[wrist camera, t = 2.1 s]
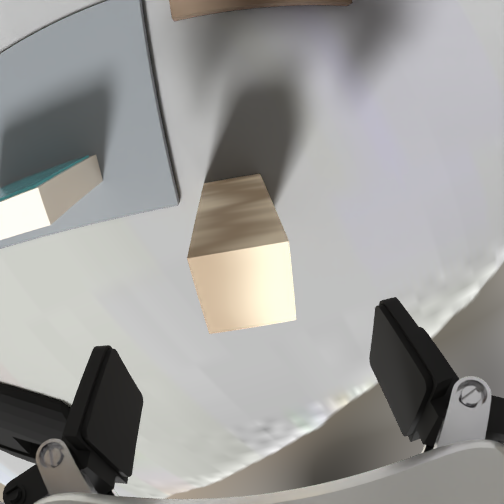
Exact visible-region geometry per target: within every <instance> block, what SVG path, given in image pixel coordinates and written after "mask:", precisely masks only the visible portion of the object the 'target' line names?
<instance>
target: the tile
mask: <svg viewBox="0 0 504 504" xmlns="http://www.w3.org/2000/svg"><path fill="white" fill-rule="evenodd" d="M102 181H103V179H102V175H101V171H100V168H99V164H98V160H97V156H96V155H92V156H89V155H87V156H84V157H81V158H78V159H75V160H72V161H69V162H66V163H63V164H60V165H57V166H55V167H52V168H49V169H46V170H44V171H41V172H39V173H36V174H33V175H31V176H28V177H26V178H23V179H21V180H19V181H16V182H14V183H11V184H9V185H7V186H4V187H2V188H0V240H2V239H6V238H9V237H12V236H15V235H18V234H22V233H25V232H28V231H32V230H35V229H39V228H42V227H46V226H49V225H51V224H52V223H54V222H55V221H56V220H57V219H58V218H59V217H60V216H61V215H62V214H64V213H65V212H66V211H67V210H68V209H69V208H71V207H72V206H73V205H74V204H75V203H76V202H78V201H79V200H80V199H81V198H82V197H84V196H85V195H86V194H87V193H88V192H90V191H91V190H92V189H93V188H95V187H96V186H97V185H98V184H100V183H101V182H102Z"/></svg>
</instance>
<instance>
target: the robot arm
mask: <svg viewBox="0 0 504 504" xmlns="http://www.w3.org/2000/svg"><path fill="white" fill-rule="evenodd" d="M370 365H371V368H372V370H373V372H374V374H375V376H376V378H377V380H378V382H379V384H380V386H381V388H382V391H383V393H384V395H385V397H386V399H387V401H388V403H389V406H390V408H391V410H392V412H393V414H394V416H395V418H396V421H397V423H398V425H399V427H400V430H401V432H402V434H403V435H404V436H408V437H409V439H410V441H411V442H412V441H414V440H417V439H421V441H422V443H423V444H425V445H424V448H423V451H422V453H421V454H418V455H416V456H413V457H410V458H408V459H405V460H402V461H399V462H396V463H393V464H390V465H387V466H384V467H381V468H378V469H374V470H371V471H368V472H365V473H361V474H358V475H355V476H351V477H347V478H343V479H340V480H336V481H332V482H327V483H323V484H318V485H313V486H308V487H303V488H298V489H293V490H287V491H281V492H274V493H267V494H259V495H250V496H241V497H229V498H211V499H153V498H136V497H122V496H119V495H118V494H117V492H116V491H115V489H114V485H115V483H125V484H127V481H128V477H130V476H131V475H132V469H133V462H134V455H135V448H136V442H137V436H138V429H139V423H140V418H141V412H142V406H143V397H142V394H141V392H140V391H139V389H138V387H137V386H136V384H135V382H134V381H133V379H132V377H131V376H130V374H129V372H128V370H127V369H126V367H125V365H124V363H123V362H122V360H121V358H120V356H119V354H118V353H117V351H116V350H115V349H112V347H111V346H108V345H107V346H96V347H94V349H93V351H92V353H91V356H90V358H89V361H88V363H87V366H86V368H85V371H84V374H83V376H82V379H81V382H80V384H79V387H78V390H77V392H76V395H75V398H74V401H73V404H72V407H71V409H70V412H69V415H68V418H67V421H66V424H65V428H64V431H63V434H62V435H63V436H62V439H61V440H60V439H56V438H55V439H49V440H47V441H45V442H44V443H42V444H41V445H40V447H39V448H38V450H37V453H36V463H37V464H36V465H34V466H33V467H31V468H30V469H28V470H27V471H25V472H24V473H22V474H21V475H19V476H18V477H16V478H14V479H13V480H11V481H10V482H9V483H8V484H7V485H6V486H5V488H4V491H3V500H4V502H3V503H2V502H1V501H0V504H504V398H500V397H496V396H492V395H491V390H490V387H489V386H488V384H487V383H486V382H485V381H483V380H482V379H481V378H478V377H474V376H467V377H463V378H461V379H459V378H458V377H457V375H456V374H455V372H454V371H453V369H452V368H451V367H450V365H449V363H448V362H447V360H446V359H445V358H444V356H443V355H442V353H441V352H440V350H439V349H438V348H437V346H436V345H435V343H434V342H433V341H432V339H431V338H430V336H429V335H428V334H427V332H426V331H425V330H424V329H423V328H421V327H418V325H417V324H416V323H415V321H414V320H413V319H412V317H411V316H410V315H409V313H408V312H407V311H406V309H405V308H404V307H403V305H402V304H401V303H400V301H399V300H398V299H397V298H396V297H394V298H390V299H386V300H382V301H380V303H379V305H378V306H376V308H375V317H374V326H373V335H372V343H371V351H370Z"/></svg>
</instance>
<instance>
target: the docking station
mask: <svg viewBox="0 0 504 504" xmlns="http://www.w3.org/2000/svg"><path fill="white" fill-rule="evenodd" d="M70 409H71V408H70V407H68V406H67V405H66V404H64V403H63V402H62V401H59V400H56V399H52V398H49V397H46V396H43V395H40V394H36V393H33V392H29V391H26V390H22V389H19V388H16V387H13V386H9V385H5V384H1V383H0V450H2V451H5V452H7V453H9V454H11V455H13V456H16V457H18V458H21V459H24V460H26V461H29V462H32V463H35V464H37V463H36V453H37V450H38V448H39V447H40V445H41V444H42V443H44V442H45V441H47V440H49V439H55V438H56V439H60V440H61V439H62V436H63V435H62V434H63V431H64V428H65V424H66V421H67V418H68V415H69V412H70Z"/></svg>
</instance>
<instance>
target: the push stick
mask: <svg viewBox="0 0 504 504" xmlns="http://www.w3.org/2000/svg"><path fill="white" fill-rule="evenodd" d="M187 260H188V263H189V267H190V270H191V274H192V277H193V281H194V284H195V288H196V291H197V295H198V298H199V301H200V305H201V308H202V311H203V314H204V318H205V321H206V324H207V327H208V331H209V334H212V333H219V332H226V331H233V330H239V329H246V328H252V327H258V326H264V325H270V324H276V323H281V322H287V321H292V320H296V311H295V299H294V288H293V278H292V268H291V258H290V248H289V241H288V238H287V236H286V233H285V231H284V229H283V226H282V224H281V221H280V219H279V217H278V214H277V212H276V210H275V207H274V205H273V203H272V200H271V198H270V196H269V193H268V191H267V189H266V186H265V184H264V182H263V179H262V177H261V175H260V174H254V175H248V176H242V177H236V178H230V179H225V180H219V181H214V182H208V183H204V185H203V189H202V193H201V198H200V202H199V206H198V211H197V215H196V220H195V224H194V229H193V233H192V238H191V243H190V247H189V252H188V257H187Z"/></svg>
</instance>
